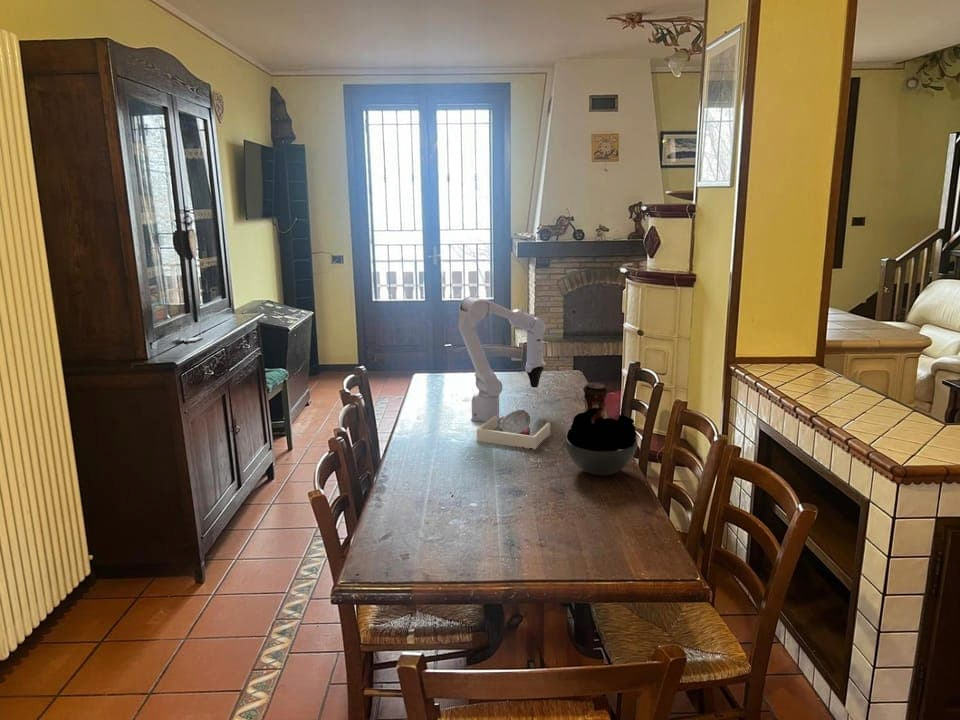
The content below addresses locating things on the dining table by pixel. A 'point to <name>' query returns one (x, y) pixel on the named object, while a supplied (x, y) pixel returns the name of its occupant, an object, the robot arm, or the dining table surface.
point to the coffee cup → (595, 399)
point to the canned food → (516, 423)
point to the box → (510, 435)
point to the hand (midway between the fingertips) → (534, 386)
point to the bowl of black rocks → (601, 443)
